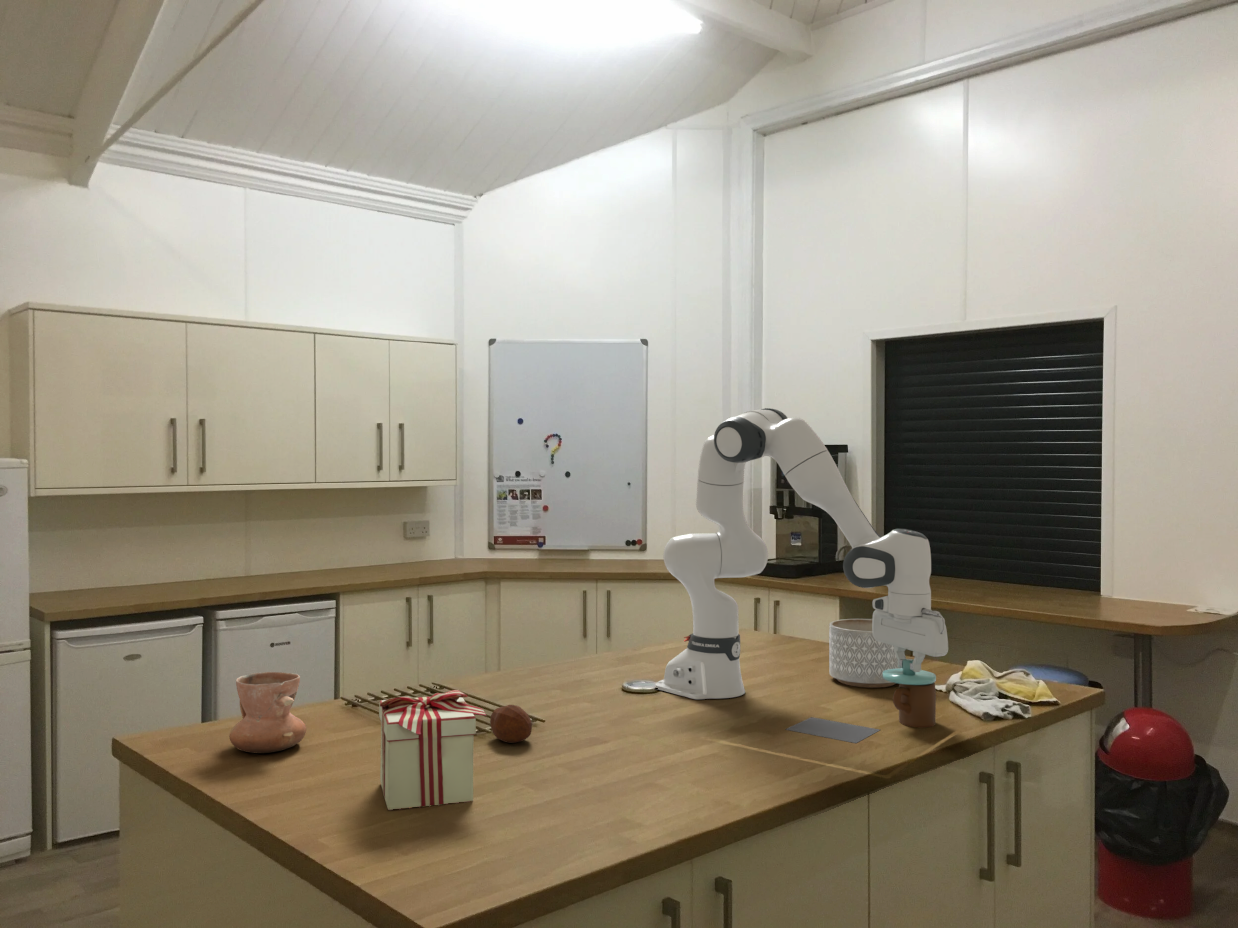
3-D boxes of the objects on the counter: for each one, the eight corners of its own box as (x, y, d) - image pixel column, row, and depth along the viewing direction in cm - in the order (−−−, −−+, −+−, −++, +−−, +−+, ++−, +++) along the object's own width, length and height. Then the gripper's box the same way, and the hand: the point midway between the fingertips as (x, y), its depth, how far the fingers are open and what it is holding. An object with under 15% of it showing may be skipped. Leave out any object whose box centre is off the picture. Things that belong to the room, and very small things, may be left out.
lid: (877, 681, 210) (877, 662, 210) (888, 670, 220) (888, 652, 220) (930, 686, 205) (931, 667, 205) (939, 676, 215) (940, 657, 215)
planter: (912, 678, 258) (913, 622, 258) (891, 692, 242) (891, 634, 242) (843, 669, 268) (843, 616, 268) (818, 683, 252) (818, 626, 252)
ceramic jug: (323, 748, 198) (323, 676, 198) (254, 764, 187) (253, 688, 187) (278, 732, 210) (278, 665, 210) (211, 746, 200) (211, 676, 200)
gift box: (391, 820, 160) (391, 713, 159) (372, 784, 177) (371, 688, 176) (494, 805, 166) (493, 702, 166) (465, 772, 183) (465, 679, 183)
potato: (509, 731, 209) (509, 696, 209) (544, 741, 202) (544, 705, 202) (478, 740, 203) (478, 704, 203) (513, 751, 196) (513, 713, 196)
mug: (910, 736, 206) (910, 690, 206) (879, 728, 212) (879, 684, 211) (942, 725, 213) (942, 682, 213) (912, 718, 219) (912, 676, 219)
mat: (785, 731, 209) (785, 729, 209) (811, 719, 218) (811, 716, 218) (856, 745, 199) (856, 742, 199) (880, 732, 208) (880, 729, 208)
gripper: (955, 611, 204) (955, 678, 204) (890, 597, 223) (889, 658, 223) (931, 613, 202) (931, 681, 202) (867, 599, 220) (867, 661, 220)
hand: (909, 669), depth 213 cm, fingers closed on lid, 2 cm apart
